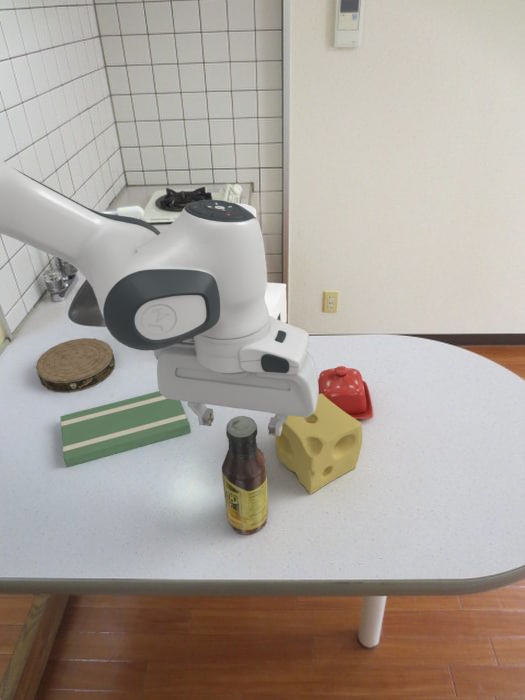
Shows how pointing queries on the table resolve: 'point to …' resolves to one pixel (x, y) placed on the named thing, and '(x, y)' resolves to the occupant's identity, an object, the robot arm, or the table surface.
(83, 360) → the wooden log slice
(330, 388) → the butter dish
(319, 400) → the cheese
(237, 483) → the sauce bottle
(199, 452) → the table surface
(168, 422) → the towel
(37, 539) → the table surface
